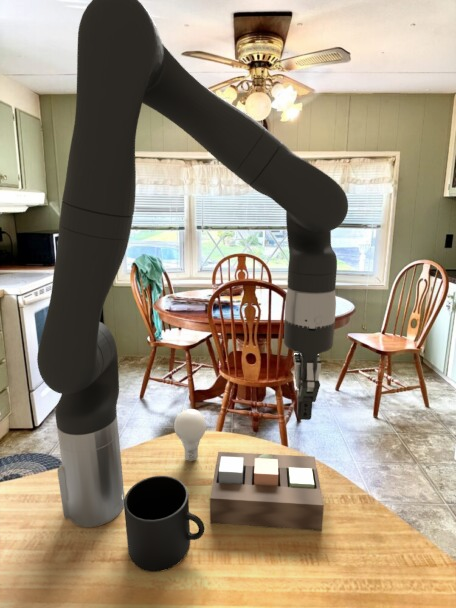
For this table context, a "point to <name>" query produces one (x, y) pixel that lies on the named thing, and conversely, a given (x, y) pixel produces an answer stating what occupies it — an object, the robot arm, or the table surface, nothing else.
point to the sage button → (300, 478)
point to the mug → (159, 523)
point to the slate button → (231, 470)
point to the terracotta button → (266, 472)
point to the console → (267, 497)
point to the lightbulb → (190, 431)
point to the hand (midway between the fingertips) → (303, 417)
